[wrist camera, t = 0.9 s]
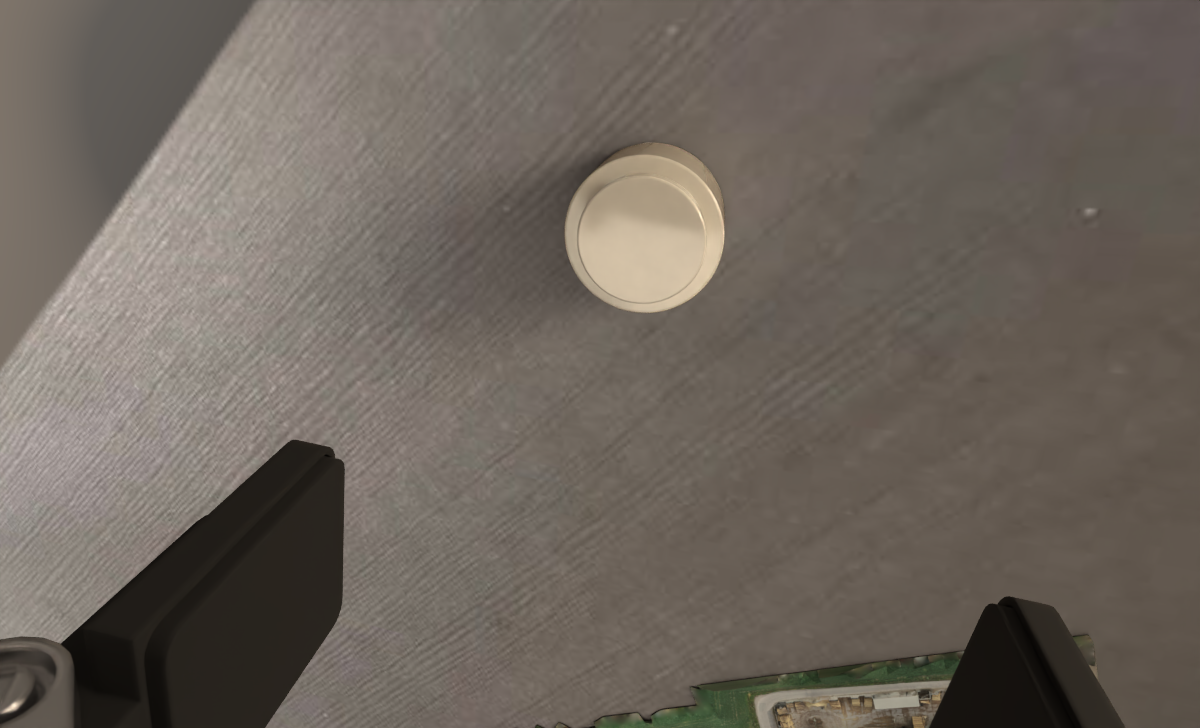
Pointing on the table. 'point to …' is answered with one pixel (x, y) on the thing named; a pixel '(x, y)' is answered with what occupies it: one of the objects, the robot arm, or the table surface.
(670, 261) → the tan tin with lid
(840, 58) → the table surface
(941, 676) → the model
